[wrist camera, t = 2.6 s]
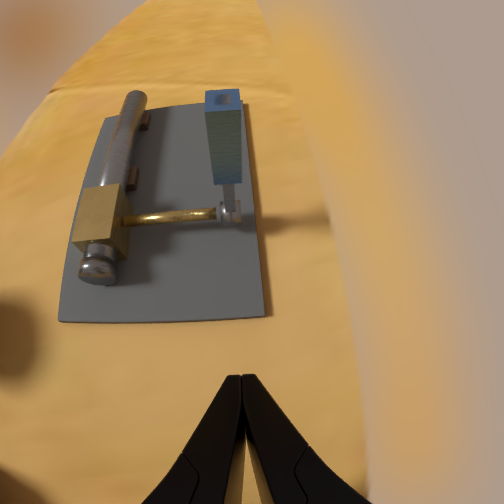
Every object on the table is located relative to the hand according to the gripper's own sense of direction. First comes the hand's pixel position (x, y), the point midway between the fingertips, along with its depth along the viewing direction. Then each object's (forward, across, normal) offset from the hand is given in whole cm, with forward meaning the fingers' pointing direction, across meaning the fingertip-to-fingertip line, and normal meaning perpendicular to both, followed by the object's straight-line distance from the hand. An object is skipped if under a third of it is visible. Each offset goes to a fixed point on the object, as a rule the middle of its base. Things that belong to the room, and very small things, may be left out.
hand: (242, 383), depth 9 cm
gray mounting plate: (+22, +7, -3) cm, 24 cm away
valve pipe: (+23, +7, -5) cm, 24 cm away
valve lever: (+17, 0, -2) cm, 17 cm away
